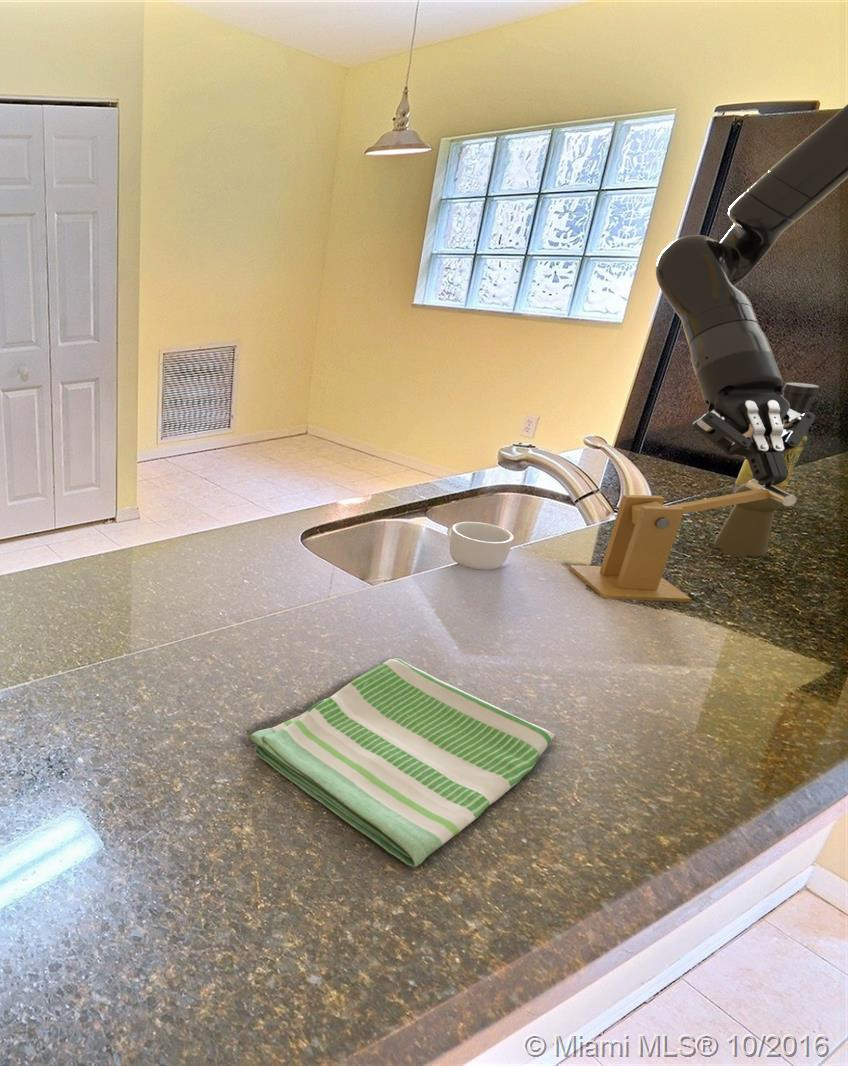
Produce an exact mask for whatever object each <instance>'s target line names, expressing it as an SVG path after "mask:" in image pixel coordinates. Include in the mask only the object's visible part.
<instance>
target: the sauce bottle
mask: <svg viewBox="0 0 848 1066" xmlns="http://www.w3.org/2000/svg"><path fill="white" fill-rule="evenodd" d="M819 390H820V386H819V385H816V384H811V383H805V382H786V383H785V384H784V385H783V387H782V396H783V397H784V398H785V399H786V400H787V401H788V402H789V404H790V409H792V410H794V411H796V412H798V413H800V414H802V415H803V414H804V413H806V412H810V408H811V405H812V402H813V400H814V398H815V397H816V396H817V395H818V392H819ZM782 426H783V421H782ZM808 431H809V430H808ZM808 431H807V432H806V434H805V435H804V437H803V439H802V440H801V442H800V443H799V445H798V446H796V447H795V448H792V449H790V450H788V451H787V452H785V453H784V454H782V455H783V458H784V461H785V464H786V467H787V469H788V472H789V473H788V476H787V478H786V480H785V481H783V482H781V483H779V484H777V485H772V486H776V487H778V488H780V489H782V490H783V491H785V489H786V488H787V485H788V483H789V481H790V478H791V476H792V474H793V472H794V470H795V467H796V464H797V463H798V460H799V458H800V455H801V453H802V451H803V449H804V447H805V444H806V442H807V440H808V437H809V435H808V433H809V432H808ZM768 444H769V443H768ZM753 479H755V478H754V477H753V474H752V471H751V468H750V465H749V462H748V460H747V459H745V458H744V461H743V463H742V466H741V468H740V470H739V472H738V476H737V478H736V479H735V480H736V481H735V482H734V483H735V486H734V488H733V490H732V492H733V493H732V494H734V492H735V490H736V489H737V488H738V487H739V486H741V485H742V484H746V483H748V482H749V481H750V480H753Z"/></svg>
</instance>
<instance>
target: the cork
mask: <svg viewBox="0 0 848 1066" xmlns="http://www.w3.org/2000/svg"><path fill="white" fill-rule="evenodd" d="M746 484H747V483H746ZM746 484H742V485H741V486H739V487H738V488H737V489H736V490H735V492H734V493H733V494H735V493H740V492H745V491H751V490H749V489H747V487H746ZM771 486H772V485H771ZM773 487H775V488H778V487H776V486H773ZM778 489H780V488H778ZM780 490H782V489H780ZM782 491H783V490H782ZM782 506H783V505H782V504H780V503H777V502H775V501H773V500H771V499H769V498H768V499H762V500H757V501H751V502H746V503H741V504H735V505H733V508H732V510H731V511H730V513H729V515H728V517H727V518H726V520H725V522H724V523H723V525H722V527H721V529H720V530H719V532H718V534H717V535H716V537H715V539H714V541H713V545H714V546H715V547H714V546H713V547H712V548H713V549H714V550H715V551H716V552H719V553H721V554H724V555H728V556H731V557H735V558H742V559H749V560H759V559H760V557H762V556H765V555H766V554H767V552H768V547H769V541H770V536H771V532H772V527H773V522H774V517H775V512H776V511H777V510H779V509H781V507H782ZM758 557H759V558H758Z"/></svg>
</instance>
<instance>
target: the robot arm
mask: <svg viewBox="0 0 848 1066" xmlns="http://www.w3.org/2000/svg"><path fill="white" fill-rule="evenodd" d="M847 179H848V103H847V104H846V105H844V106H843V107H842V108H841V109H840V110H838V112H836V113H835V114H834V115H833V116H832V117H831V118H830V119H828V120H827V121H826V122H824V123H823V124H822V125H821V126H819V127H818V128H817V129H815V130H814V132H812V133H811V134H810V135H809V136H807V137H806V138H805V139H804V140H803V141H801V142H800V143H799V144H798V145H797V146H795V147H794V148H793V149H792V150H790V151H789V152H788V153H786V155H784V156H783V157H782V158H781V159H780V160H779V161H777V162H776V163H775V164H774V165H773V166H772V167H771V168H769V170H768V171H766V172H765V173H764V174H763V175H762V176H760V177H759V179H757V180H756V181H755V182H754V183H753V184H751V186H750V187H748V188H747V190H745V191H744V192H743V193H742V194H741V195H739V197H738V198H737V199H736V200H735V201H734V202H733V203H732V204H731V205H730V206H729V208H728V212H727V215H728V217H729V220H730V221H731V222H732V223H733V225H732V226H731V228H730V229H729V230H728V231H727V232H726V234H725V235H724V237H723V238H722V239H721V240H720V241H718V240H717V239H715V238H711V237H710V236H707V235H702V234H691V235H689V234H688V235H685V236H681V237H679V238H677V239H675V240H674V241H671V242H670V243H669V244H668V245H667V246H666V247H665V248H664V249H663V250H662V251H661V253H660V255H659V256H658V258H657V262H656V265H655V277H656V280H657V284H658V287H659V288H660V290H661V292H662V294H663V296H664V297H665V299H666V300H667V302H668V303H669V305H670V306H671V308H672V309H673V311H674V312H675V313H676V315H677V316H678V317H679V319H680V321H681V323H682V327H683V332H684V334H685V338H686V341H687V345H688V348H689V351H690V361H691V365H692V368H693V372H694V374H695V378H696V381H697V383H698V387H699V390H700V393H701V396H702V400H703V402H704V404H705V405H706V406H707V413H704V415H702V416H701V417H700V418H698V419H696V420H695V421H694V422H692V428H693V429H694V430H696V431H697V432H698V433H700V434H701V435H702V436H704V437H705V438H706V439H707V440H709V441H710V442H711V443H713V444H714V445H716V446H717V447H718V448H719V449H720V450H722V451H723V452H724V453H726V454H727V455H728V456H735V455H739V456H742V457H743V458H744V460H745V459H747V460H748V462H749V465H750V468H751V471H752V474H753V477H754V478H755V480H756V481H758V483H759V484H760V485H777V484H779V483H781V482H783V481H785V480H786V478H787V476H788V473H789V472H788V469H787V467H786V464H785V461H784V458H783V455H782V454H784V453H785V452H787V451H788V450H790V449H792V448H795V447H796V446H798V445H799V443H800V442H801V440H802V439H803V437H804V435H805V434H806V432H807V431H809V429H810V428H811V426H812V424H813V423H814V421H815V420H816V415H815V414H814V413H813V412H811V411H808V412H806V413H804V414H803V415H802V414H800V413H798V412H796V411H794V410H792V409H790V404H789V402H788V401H787V400H786V399H785V398H784V397H783V396H782V395H783V393H782V391H783V387H784V380H783V377H782V374H781V372H780V369H779V366H778V363H777V361H776V359H775V355H774V353H773V350H772V348H771V345H770V342H769V340H768V338H767V336H766V334H765V332H764V331H763V329H762V328H761V325H760V324H759V321H758V319H757V315H756V313H755V310H754V307H753V304H752V302H751V300H750V299H749V297H748V296H747V295H746V294H745V293H744V292H743V291H741V289H739V288H737V287H736V286H737V285H739V283H741V282H742V281H743V280H744V279H745V278H746V277H747V276H748V275H749V274H750V273H751V272H752V271H753V270H754V269H755V267H756V266H757V265H758V264H759V262H760V261H762V259H763V258H764V256H765V255H767V253H769V251H770V250H771V248H772V247H773V246H774V245H775V243H776V242H777V241H778V240H779V238H780V236H781V235H782V234H783V233H784V232H785V231H786V230H787V229H788V228H789V227H791V226H792V225H794V223H796V221H799V219H801V218H802V217H803V216H804V215H806V214H807V213H808V212H809V211H810V210H812V209H813V208H814V207H815V206H817V205H818V204H819V203H820V202H822V200H824V199H825V198H826V197H827V196H828V195H830V194H831V193H832V192H834V190H836V189H837V188H838V187H839V186H840V185H841V184H842V183H844V182H845V181H846V180H847ZM782 421H783V426H782ZM731 441H732V442H731ZM768 443H769V444H768Z"/></svg>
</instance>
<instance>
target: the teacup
mask: <svg viewBox="0 0 848 1066" xmlns="http://www.w3.org/2000/svg"><path fill="white" fill-rule="evenodd" d="M446 534H447V537H448V539H449V540H450V541H449V554H450V557H451V558H452V560H453V561H454V562H455V563H457V564H459V565H460V566H463V567H466V568H470V569H475V570H480V571H481V570H483V571H491V570H496V569H499V568H500V567H502V566H503V565H504V564H505V562H506V561H507V559H508V556H509V554H510V551H511V549H512V546H513V543H514V538H515V537H514V535H513V534H512V532H510V531H509V530H507V529H506V528H503V527H501V526H498V525H494V524H491V523H485V522H477V521H463V522H462V521H461V522H457V523H455V524H451V525H450V526H449V527H447V531H446Z"/></svg>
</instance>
